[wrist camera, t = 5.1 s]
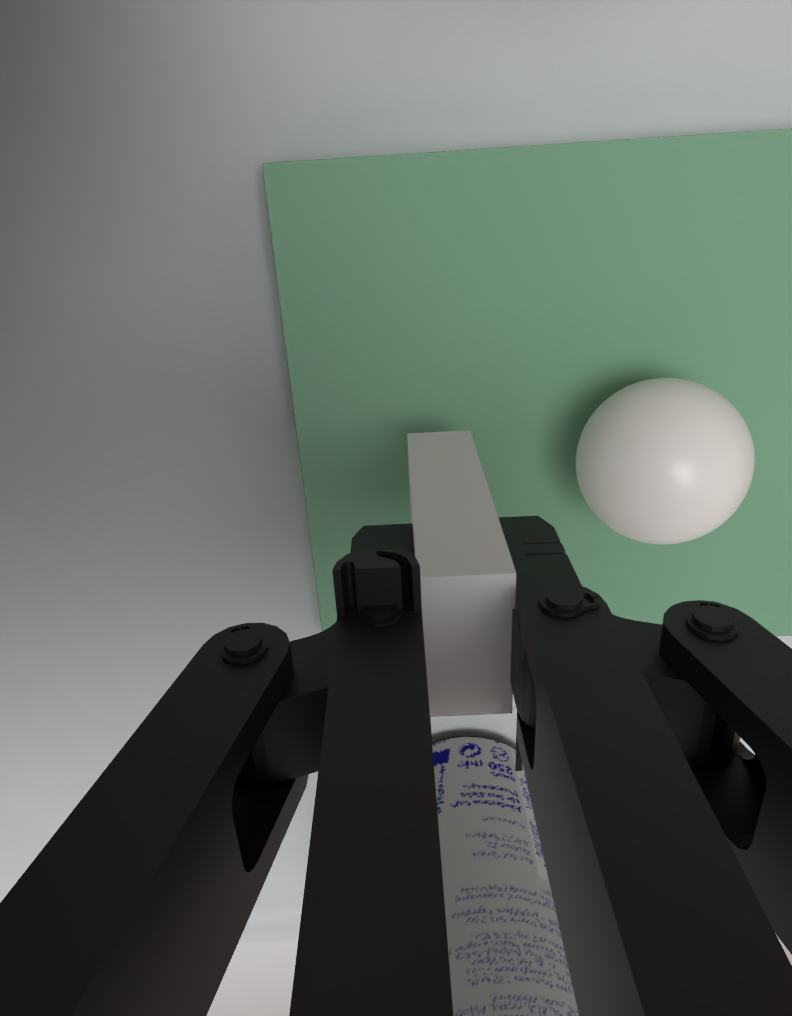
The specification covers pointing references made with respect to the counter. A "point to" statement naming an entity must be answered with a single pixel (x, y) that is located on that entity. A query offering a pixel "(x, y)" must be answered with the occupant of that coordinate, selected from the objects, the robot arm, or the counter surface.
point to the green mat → (542, 337)
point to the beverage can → (496, 887)
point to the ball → (665, 461)
